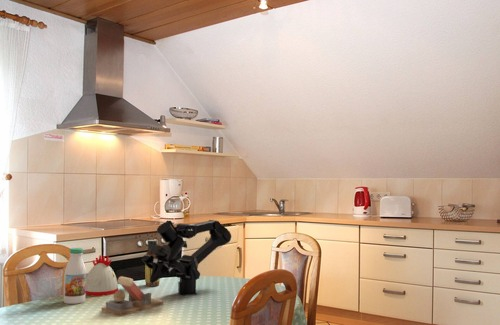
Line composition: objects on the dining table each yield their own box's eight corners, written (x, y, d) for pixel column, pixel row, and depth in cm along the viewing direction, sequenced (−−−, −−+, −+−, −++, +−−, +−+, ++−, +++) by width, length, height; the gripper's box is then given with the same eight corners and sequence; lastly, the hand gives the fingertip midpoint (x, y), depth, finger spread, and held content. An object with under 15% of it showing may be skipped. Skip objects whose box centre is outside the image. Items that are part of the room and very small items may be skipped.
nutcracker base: (144, 300, 180) (145, 287, 181) (162, 304, 175) (163, 291, 175) (101, 311, 164) (102, 296, 164) (120, 316, 158) (120, 301, 159)
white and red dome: (107, 297, 184) (108, 259, 184) (75, 294, 186) (77, 256, 187) (123, 289, 197) (125, 253, 198) (94, 287, 200) (95, 252, 201)
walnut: (120, 299, 167) (120, 288, 167) (127, 301, 165) (127, 290, 165) (110, 302, 164) (111, 290, 164) (118, 304, 161) (118, 292, 162)
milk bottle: (58, 302, 174) (61, 248, 174) (75, 298, 180) (77, 246, 181) (73, 305, 170) (75, 250, 171) (89, 301, 177) (91, 248, 178)
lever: (138, 294, 175) (120, 274, 168) (148, 297, 172) (130, 276, 165) (134, 301, 173) (116, 281, 166) (143, 303, 170) (125, 283, 163)
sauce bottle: (161, 284, 209) (162, 239, 209) (157, 287, 202) (158, 241, 203) (146, 283, 209) (148, 239, 210) (142, 286, 203) (144, 240, 204)
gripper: (145, 234, 187) (123, 266, 177) (179, 238, 176) (157, 273, 167) (159, 251, 193) (138, 283, 184) (193, 257, 182) (172, 290, 173)
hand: (151, 282), depth 177 cm, fingers closed
